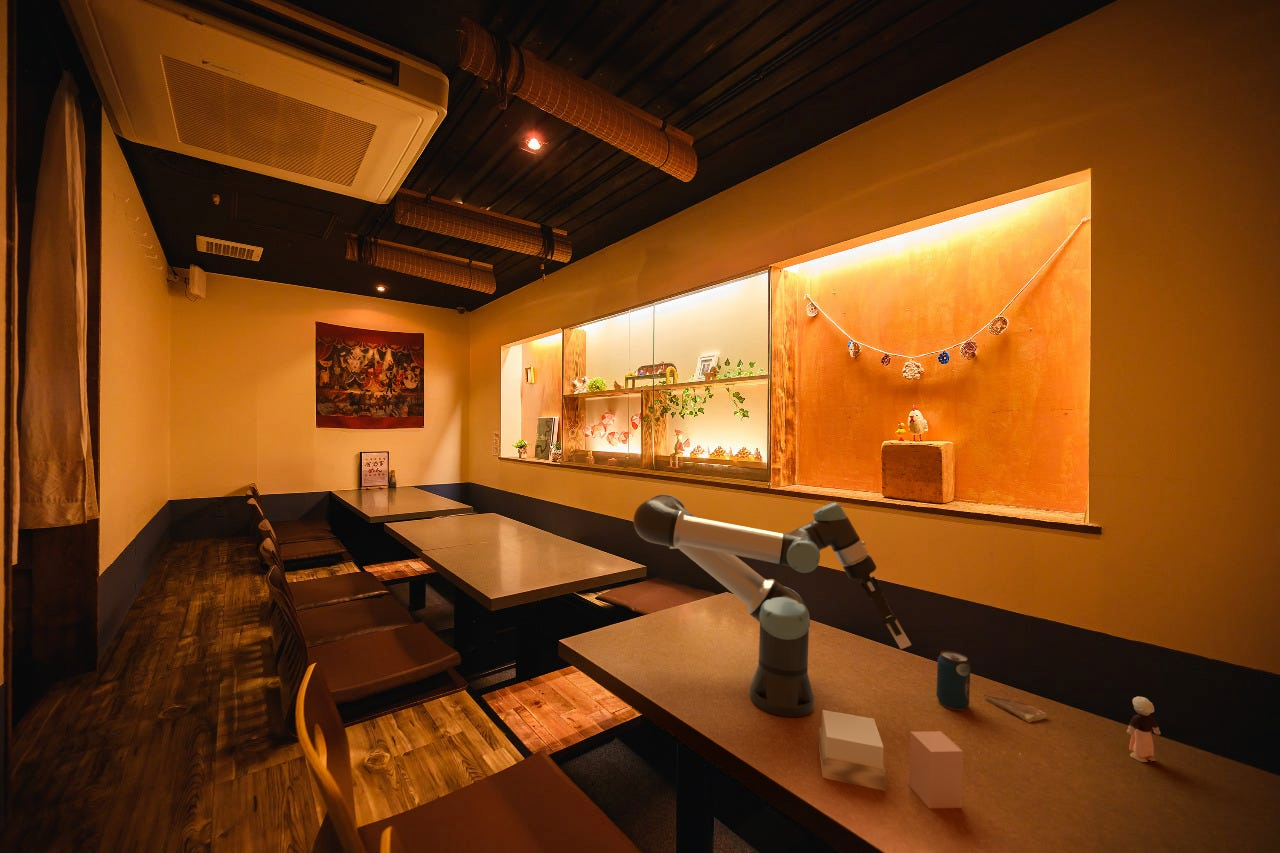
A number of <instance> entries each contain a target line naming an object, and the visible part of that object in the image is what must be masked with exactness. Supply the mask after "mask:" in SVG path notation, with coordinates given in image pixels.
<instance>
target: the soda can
mask: <svg viewBox="0 0 1280 853" xmlns="http://www.w3.org/2000/svg"><path fill="white" fill-rule="evenodd" d="M936 668H937V670H936V671H937V672H936V698H937V700H938V701H939V703H940V704H941V705H942V706H943V707H946V708H949V709H951V710H955V711H964V710H965V709H967V708H968V706H969V705H970V692H971V691H970V689H971V688H970V686H971V664H970V663H969V660H968V657H967V656H966V655H964V654H962V653H960V652H956V651H951V650H942V651H940V655H939V656H938V657H937V667H936Z"/></svg>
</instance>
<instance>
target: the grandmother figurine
mask: <svg viewBox="0 0 1280 853" xmlns="http://www.w3.org/2000/svg"><path fill="white" fill-rule="evenodd" d="M1132 705H1133V709H1134V711H1135V712H1136V713H1137V714H1135V715H1133V717H1132V718H1131V719H1130V721H1129V722H1128V726H1127V729H1126V733H1127V735H1130V736H1131V737H1130V742H1129V746H1128V747H1129V748H1128V750H1130V751H1131V753H1130V754H1129V756H1130V758H1132V759H1135V760H1136V761H1138V762H1141V763H1143V762H1149V760H1151V761H1150V762H1152V761H1155V760H1156V759H1155V757H1154V756H1155V751H1154V750H1155V748H1154V740H1153V736H1152V731H1153V733H1154V734H1155V735H1161V731H1160V728H1159V725H1158V723H1157V722H1156V720H1155V719H1154V717H1153V716H1152V715H1151V714H1152V713H1154V712H1155V707H1154V705H1153V702H1152V701H1150V700H1149V699H1148V698H1147V697H1143V696H1136V697H1133V698H1132ZM1147 759H1148V760H1147Z"/></svg>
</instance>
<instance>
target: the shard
mask: <svg viewBox="0 0 1280 853" xmlns="http://www.w3.org/2000/svg"><path fill="white" fill-rule="evenodd" d="M983 697H984V698H985V701H987V702H989V703H991V704H992V705H995V706H996V707H999V708H1001V709H1003V710H1004V709H1005V711H1007V712H1008V713H1010V714H1012V713H1013V714H1012V715H1014V714H1015V715H1014V716H1016V717H1017V716H1018V717H1017V718H1020V719H1021V720H1022V721H1024V720H1025V722H1027V723H1032V721H1033V722H1037V721H1042V720H1041V719H1045V720H1046V719H1047V716H1048V714H1047V713H1046V712H1045V711H1042V710H1040V709H1038V708H1036V707H1035V706H1033V705H1032V704H1027V703H1023V702H1018V701H1014V700H1011V699H1007V698H1006V699H1005V698H1000V697H994V696H990V695H985V694H984V695H983Z"/></svg>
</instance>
